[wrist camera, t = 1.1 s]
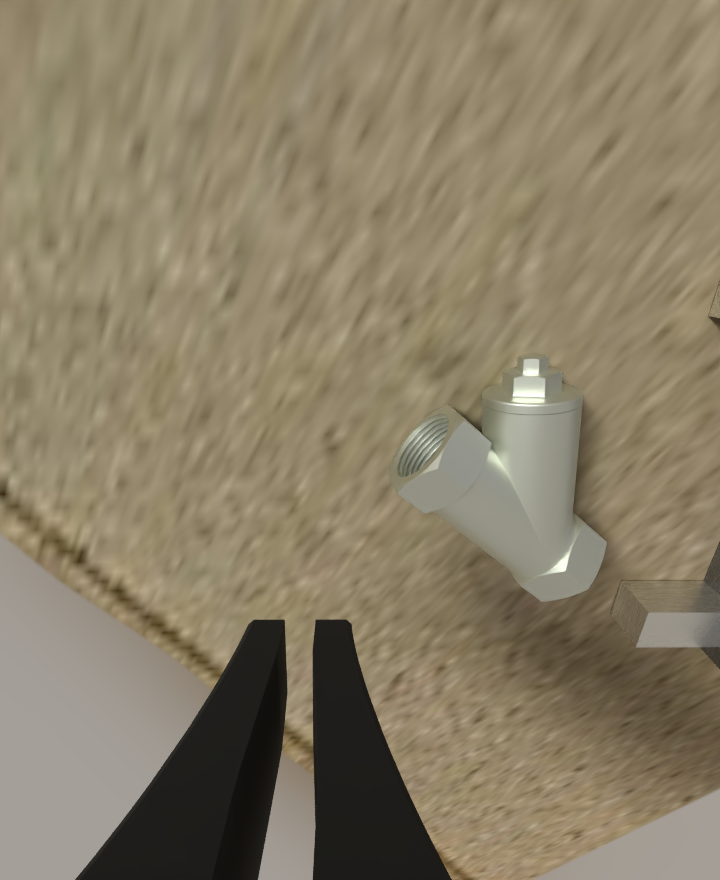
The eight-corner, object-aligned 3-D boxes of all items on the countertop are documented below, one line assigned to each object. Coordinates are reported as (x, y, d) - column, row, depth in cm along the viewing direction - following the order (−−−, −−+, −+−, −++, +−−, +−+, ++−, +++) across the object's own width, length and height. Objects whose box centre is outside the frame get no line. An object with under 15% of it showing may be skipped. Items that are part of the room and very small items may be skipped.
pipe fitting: (500, 327, 17) (382, 459, 18) (551, 340, 13) (398, 504, 14) (627, 451, 19) (513, 560, 20) (701, 492, 15) (556, 621, 17)
